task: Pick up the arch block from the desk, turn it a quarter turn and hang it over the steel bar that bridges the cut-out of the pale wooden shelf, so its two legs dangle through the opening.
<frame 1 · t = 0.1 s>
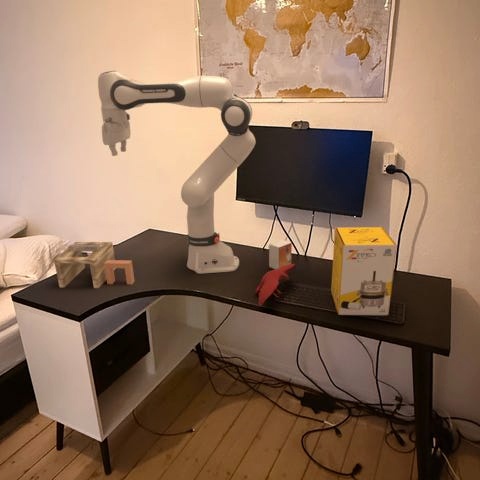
hand: (119, 153, 160), 48 cm above the table, tool pointing down, fingers open, 8 cm apart
shelf: (89, 277, 166), on the table
packaging box: (358, 303, 141), on the table
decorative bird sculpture: (272, 295, 148), on the table
arch block: (121, 282, 161), on the table
small box: (280, 266, 171), on the table
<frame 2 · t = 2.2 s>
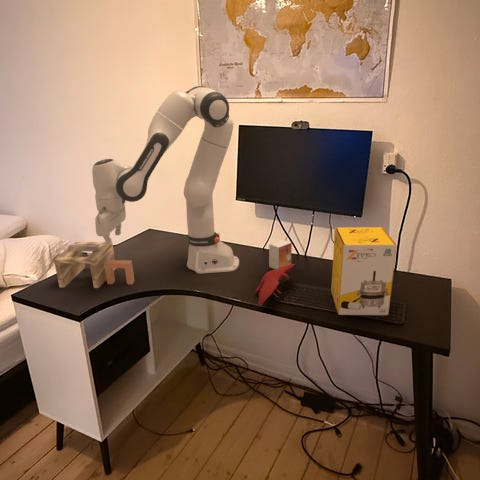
hand: (113, 239, 154), 19 cm above the table, tool pointing down, fingers open, 8 cm apart
nothing on the table moved.
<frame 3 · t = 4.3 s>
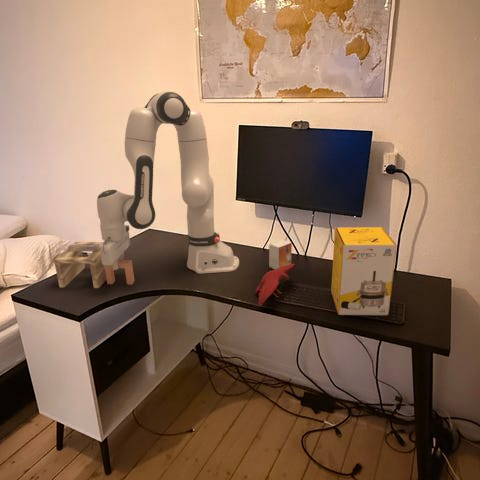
hand: (118, 266, 158), 7 cm above the table, tool pointing down, fingers closed on arch block, 3 cm apart
arch block: (121, 282, 161), on the table, touching gripper
everything else where it was.
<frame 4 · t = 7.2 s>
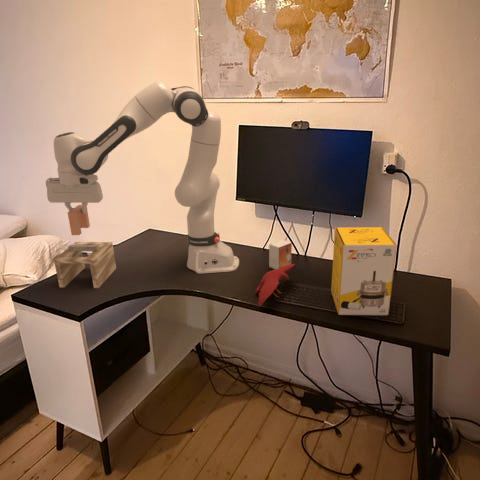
hand: (77, 213, 155), 28 cm above the table, tool pointing down, fingers closed on arch block, 3 cm apart
arch block: (81, 230, 158), point 21 cm above the table, touching gripper
everything else where it was.
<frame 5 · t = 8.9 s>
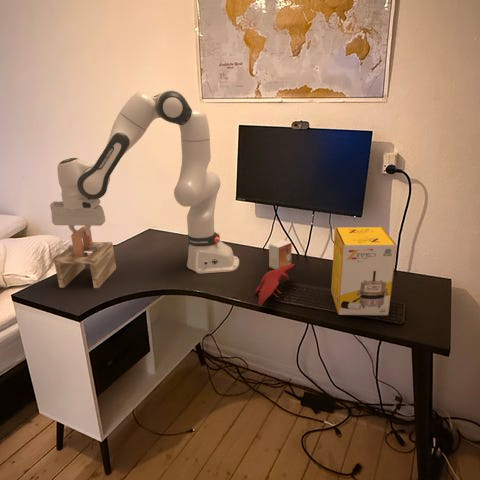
hand: (81, 235, 160), 18 cm above the table, tool pointing down, fingers closed on arch block, 3 cm apart
arch block: (84, 251, 162), point 11 cm above the table, touching gripper
everything else where it was.
when the fingers open (16 cm above the table, at t = 10.1 s): arch block drops 1 cm, resting on shelf.
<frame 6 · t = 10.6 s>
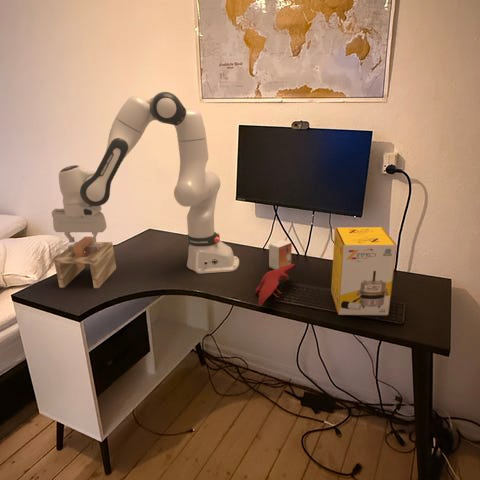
hand: (82, 242, 161), 16 cm above the table, tool pointing down, fingers open, 8 cm apart
arch block: (86, 261, 164), point 7 cm above the table, touching shelf
everything else where it was.
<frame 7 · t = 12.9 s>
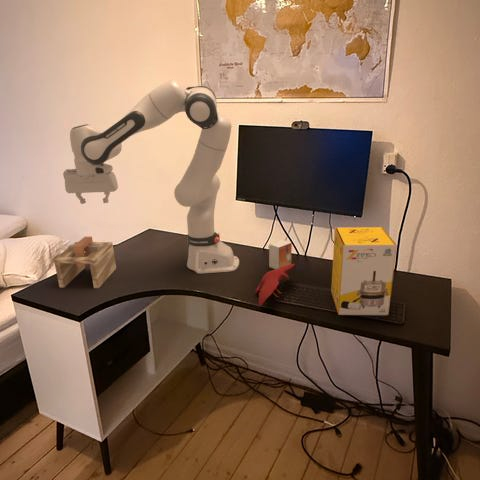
hand: (94, 203, 161), 30 cm above the table, tool pointing down, fingers open, 8 cm apart
nothing on the table moved.
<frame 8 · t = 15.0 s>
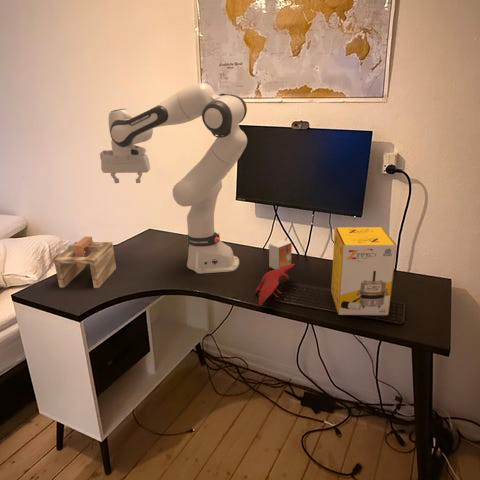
hand: (127, 182, 173), 34 cm above the table, tool pointing down, fingers open, 8 cm apart
nothing on the table moved.
at the end: arch block 0.1 cm off-centre on the shelf, point 7.0 cm above the shelf's base; arch block touching shelf; the gripper is holding nothing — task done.
